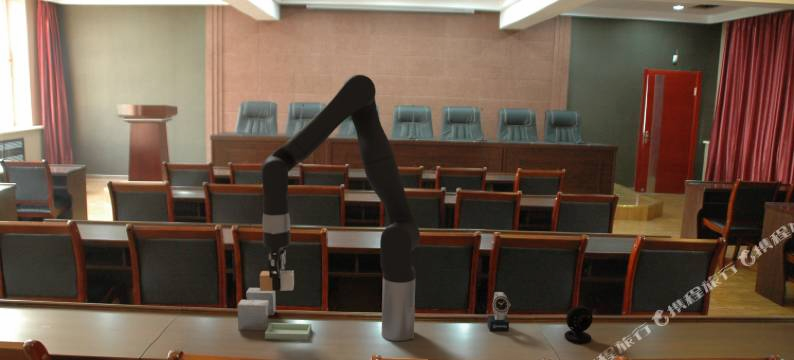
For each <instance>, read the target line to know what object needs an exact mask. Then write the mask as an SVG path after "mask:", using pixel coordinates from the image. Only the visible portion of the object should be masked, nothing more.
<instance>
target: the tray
mask: <svg viewBox="0 0 794 360" xmlns="http://www.w3.org/2000/svg"><path fill="white" fill-rule="evenodd" d="M311 333H312V323H295V322H294V323H293V322H292V323H290V322H289V323H288V322H285V323H284V322H269V323H268V327H267V329H266V330H265V332H264V339H265V340H280V341H281V340H282V341H283V340H284V341H285V340H286V341H289V340H290V341H309V338H310V335H311Z"/></svg>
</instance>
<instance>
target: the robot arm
mask: <svg viewBox="0 0 794 360" xmlns="http://www.w3.org/2000/svg"><path fill="white" fill-rule="evenodd" d="M376 91H377V90H376V86H375V83H374V82H373V80H372V79H371V78H370V77H368V76H367V75H364V74H355V75H352V76H350V77H348V78H347V79H346V80H345V82H344V84H343V85H342V86H341V87H340V89H339V90H338V91H337V93H336V94H335V95H334V97H333V98H332V99H331V100H330V101H329V102H328V103H327V105H325V106H324V108H323V109H321V111H319V112H318V113H317V114H316V115H315V116H314V117H313V118H311V119H310V120H309V121H308V122H306V124H304V125H303V126H302V127H301V128H300V129H299V130H297V132H295V133H294V134H293V135H292V136H291V137H290V138H289V139H288V140H287V141H286V142H285V143H284V144H283V145H281V147H279V148H278V149H277V150H274V151H273V153H271V154H270V155H269V156H268V157H266V159H265V160H263V163H262V165H261V179H262V180H261V182H262V190H263V195H262V221H261V222H262V245H263V246H264V247H265V248H269V249H270V252H269V253H268V259H267V263H268V264H267V266H268V271H269V277H270V278H272V290H273V291H275V292H277V291H278V292H280V289H281V279H280V277H281V271H286V270H285V268H286V266H287V265H286V257H287V255H286V254H287V253H286V252H287V247H288V246H290V245H291V219H290V211H289V210H290V208H289V207H290V206H289V205H290V204H289V196H288V189H289V172H290V171H291V170H293V168H294V167H296V166H297V165H298V164H299V163H301V162H303V161H305V160H306V159H307V158H308V157H310V156H311V155H312V154H313V153H314V152H315V151H316V150H318V148H319V147H321V145H322V144H323V143H324V142H325V141H326V140H327V139H328V138H329V136H331V135H332V133H333V132H334V131H335V130H336V129H337V128H338V127H339V126H340V125H341V124H343V123H344V122H345V120H347V119H348V118H349V117H351V121H352V123H353V125H354V128H355V131H356V132H355V133H356V138H357V139H356V140H357V143H358V144H357V145H358V149H359V155H360V158H361V163H362V166H363V170H364V173H365V176H366V179H367V182H368V184H369V185H370V188H372V191H373V192H374V193H375V194H376V196H377V197H378V198H379V200H380V201H381V203H382V204H383V207H384V209H385V213H386V215H387V221H388V226H386V227H385V228H384V229H383V230H382V233H381V234H380V242H379V244H380V245H379V247H380V248H379V249H380V250H379V251H380V252H379V253H380V254H379V255H380V256H379V257H380V268H381V269H380V270H381V271H382V295H381V296H382V297H381V298H382V299H381V300H382V301H381V336H382V337H383V338H385V339H386V340H388V341H392V342H393V341H394V342H403V341H404V342H405V341H408V340H414V339H415V318H416V317H415V315H416V308H415V307H416V305H415V304H416V303H415V297H416V295H415V294H416V268H415V267H414V266H413V265H412V251H413V250H415V248H417V246H418V245H419V243H420V242H421V241H420V240H421V233H420V232H421V231H420V228H419V225H418V224H417V221H416V218H415V216H414V213H413V211H412V208H411V206H410V204H409V201H408V197H407V195H406V194H407V193H406V191H405V188H404V187H405V186H404V185H403V181H402V177H401V174H400V169H399V166H398V163H397V159H396V157H395V154H394V151H393V147H392V146H391V142H390V141H389V138H388V136H387V134H386V132H385V131H384V127H383V126H382V124H381V120H380V117H379V112H378V108H377V103H376V93H377V92H376ZM274 271H276V273H274Z"/></svg>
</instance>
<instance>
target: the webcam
mask: <svg viewBox="0 0 794 360" xmlns="http://www.w3.org/2000/svg"><path fill="white" fill-rule="evenodd" d="M593 317H594V316H593V313H592V311H591V310H590V309H589V308H588V307H586V306H584V305H577V306H574V307H572V308H570V309H569V311H568V312H567V314H566V319H565V321H566V325H567V327H568V329H569V330H567V331H565V333H564V339H566V341H568V342H570V343H573V344H575V345H588V344H589V343H591V342H592V340H593V339H592V336H591V335H590V333H587V332H586V331H587V330H588V329H589V328H590V327H591V325H592V324H593V319H594V318H593ZM572 336H574V337H572Z"/></svg>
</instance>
